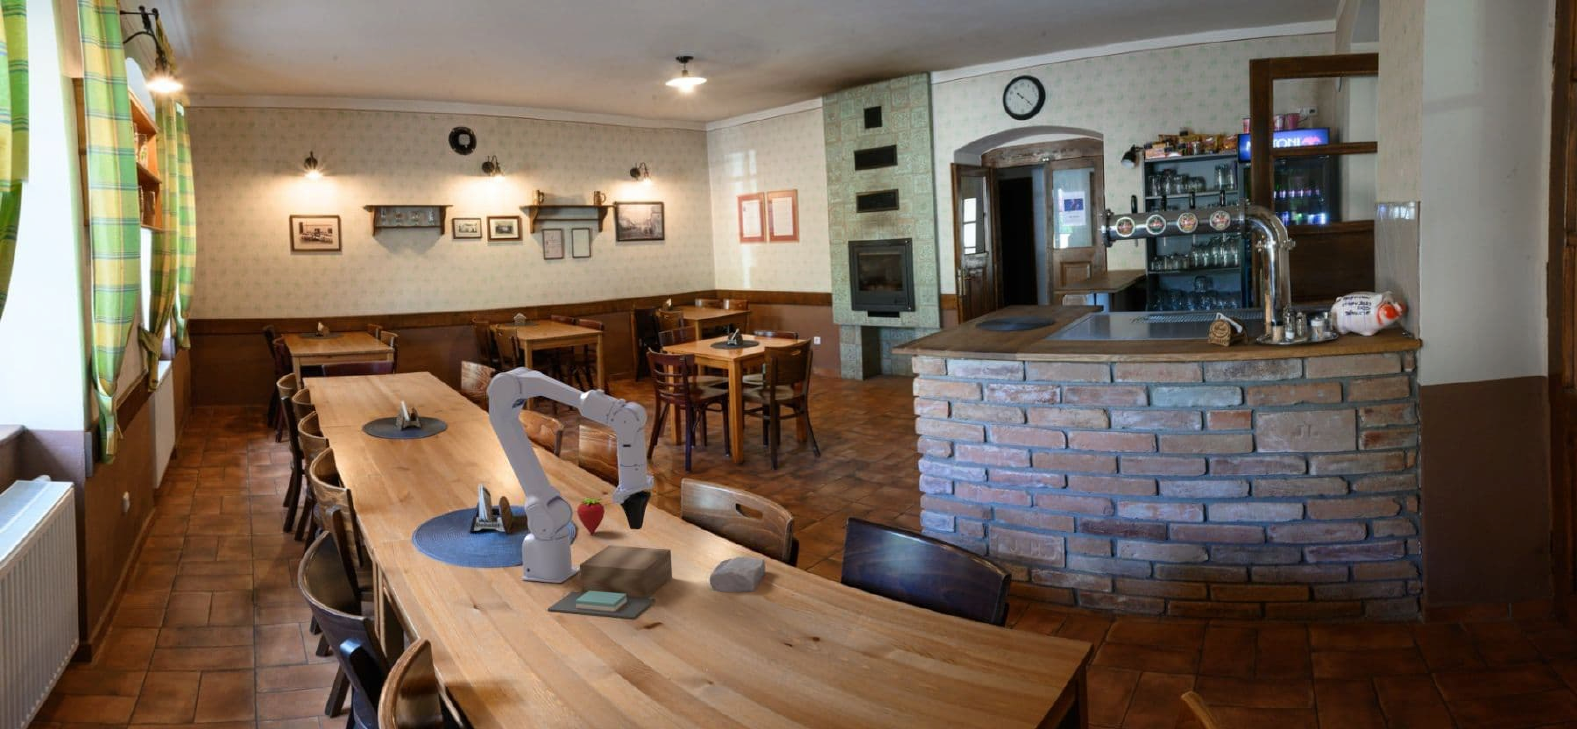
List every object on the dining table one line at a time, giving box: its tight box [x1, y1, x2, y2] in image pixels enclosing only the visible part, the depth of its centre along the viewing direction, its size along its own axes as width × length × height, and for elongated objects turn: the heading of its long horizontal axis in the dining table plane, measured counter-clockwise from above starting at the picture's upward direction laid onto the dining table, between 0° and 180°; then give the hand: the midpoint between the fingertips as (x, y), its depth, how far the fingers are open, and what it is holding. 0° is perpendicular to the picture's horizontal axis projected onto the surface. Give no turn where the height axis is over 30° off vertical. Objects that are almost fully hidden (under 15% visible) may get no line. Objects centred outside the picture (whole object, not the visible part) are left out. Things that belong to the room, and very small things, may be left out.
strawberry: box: [576, 492, 605, 534], centre depth 219 cm, size 6×8×10 cm
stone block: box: [709, 556, 766, 592], centre depth 184 cm, size 12×5×10 cm
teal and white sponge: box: [576, 591, 627, 611], centre depth 173 cm, size 8×5×2 cm, turn 72°
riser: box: [579, 544, 673, 598], centre depth 184 cm, size 14×12×6 cm
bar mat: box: [547, 590, 656, 620], centre depth 174 cm, size 18×9×1 cm, turn 72°
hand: (636, 528), depth 187 cm, fingers closed
